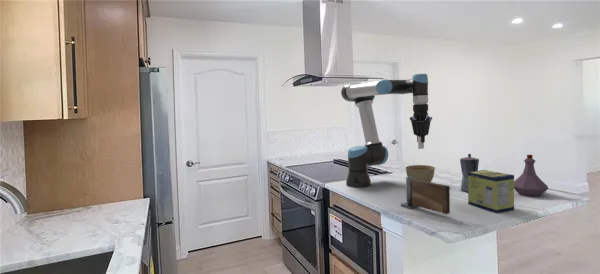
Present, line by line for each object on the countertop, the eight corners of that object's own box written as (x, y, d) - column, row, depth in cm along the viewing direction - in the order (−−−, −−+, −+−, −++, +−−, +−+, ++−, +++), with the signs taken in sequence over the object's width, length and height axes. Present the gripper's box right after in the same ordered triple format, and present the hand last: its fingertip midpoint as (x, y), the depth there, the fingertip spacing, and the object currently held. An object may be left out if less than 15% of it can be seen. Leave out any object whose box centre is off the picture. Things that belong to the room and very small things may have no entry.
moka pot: (473, 187, 184) (473, 152, 183) (486, 194, 169) (486, 156, 167) (455, 187, 185) (455, 152, 184) (467, 194, 170) (467, 156, 168)
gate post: (400, 206, 156) (400, 176, 155) (409, 203, 159) (409, 175, 158) (410, 209, 151) (410, 179, 150) (419, 206, 154) (419, 177, 153)
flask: (517, 188, 178) (518, 151, 176) (554, 194, 165) (555, 154, 163) (504, 194, 169) (504, 155, 167) (542, 200, 155) (542, 158, 154)
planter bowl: (403, 182, 203) (403, 165, 202) (431, 182, 201) (430, 164, 200) (408, 189, 187) (408, 170, 186) (438, 188, 185) (438, 169, 184)
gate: (415, 203, 154) (414, 179, 153) (449, 213, 138) (449, 186, 137) (411, 204, 152) (411, 180, 151) (445, 214, 137) (445, 187, 136)
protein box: (484, 201, 158) (484, 169, 157) (514, 210, 143) (515, 175, 142) (467, 204, 154) (467, 171, 153) (496, 213, 140) (497, 177, 139)
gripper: (405, 104, 176) (406, 148, 178) (425, 103, 165) (426, 150, 167) (415, 104, 180) (416, 146, 182) (435, 103, 168) (436, 148, 170)
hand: (421, 148), depth 174 cm, fingers closed
